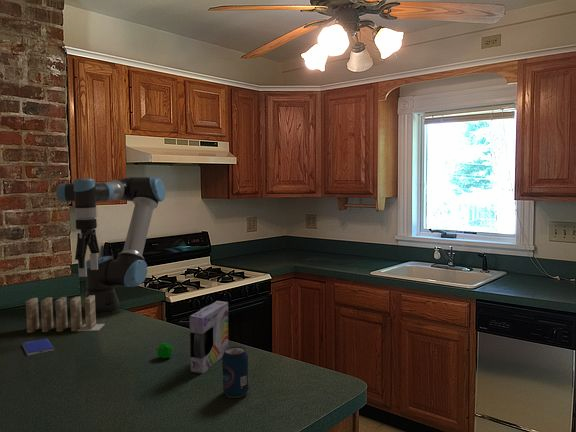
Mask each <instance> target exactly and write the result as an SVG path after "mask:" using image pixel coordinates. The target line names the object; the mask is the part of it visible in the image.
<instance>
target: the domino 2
mask: <svg viewBox="0 0 576 432" xmlns="http://www.w3.org/2000/svg"><path fill="white" fill-rule="evenodd" d="M39 302H40V318H41V332H42V333H46V332H47V333H48V332H49V331H50V330H52V329H53V328H54V310H53V309H54V308H53V306H54V305H53V297H52V296H51V297H50V296H49V297H46V298H43V299H42V300H40V301H39Z"/></svg>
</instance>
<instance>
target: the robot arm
mask: <svg viewBox="0 0 576 432" xmlns="http://www.w3.org/2000/svg"><path fill="white" fill-rule="evenodd" d="M55 195H56V198H57V200H58V201H60V202H63V203H64V202H65V203H74V210H73V213H74V215H75V218H76V219H75V229H76V230H80V232H77V235H76V236H77V240H76V246H75V247H76V248H75V256H74V260H75V261H77V266H78V267H77V268H78V269H77V270H78V271H77V272H78V277H79V278H82V277H84V278H85V282H86V283H85V284H86V294H85V298H87V297H88V296H89V295H95V310H96V313H104V312H110V311H113V310H116V309H118V308H119V307H120V302H119V299H118V296H117V293H116V290H115V287H127V288H131V287H139V286H140V285H142V284H143V283H144V282H145V280H146V277H147V275H148V264H147V262H146V261H145V258H144V256H143V254H144V249H145V246H146V241H147V237H148V232H149V229H150V224H151V220H152V216H153V211H154V210H155V209H157V208H158V207H159V206H158V204H159V203H160V202H162V201H164V200H165V197H166V188H165V184H164V182H163V180H162V179H161V178H160V177H157V176H140V177H138V176H137V177H136V176H135V177H134V176H133V177H130V176H129V177H125V178H118V179H111V180H110V181H104V182H103V181H102V182H100V181H99V182H98V181H97V182H95V179H93V178H75V179H74V180H73V183H72V182H71V183H68V182H67V183H66V182H65V183H59V184H58V185H57V187H56V189H55ZM110 200H113V201H127V202H132V203H133V204H134V208H133V211H132V215H131V218H130V223H129V227H128V230H127V235H126V238H125V240H124V241H125V242H124V246H123V249H122V251H121V252H119V253H118V254H117V258H116V259H114V256H113V255H106V256H98V254H99V253H100V248H99V242H98V238H97V234H96V229H97V228H98V227H97V226H98V223H97V219H96V218H97V207H96V206H97V205H96V203H101V202H108V201H110ZM88 249H89V251H90V253H89V259H86V253H87V250H88ZM85 298H84V299H85ZM82 307H83V311H84V312H85V300H84V302H83V305H82Z"/></svg>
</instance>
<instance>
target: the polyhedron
mask: <svg viewBox="0 0 576 432" xmlns="http://www.w3.org/2000/svg"><path fill="white" fill-rule="evenodd" d="M173 351H174V348H173V346H172V345H171V344H169V343H167V342H162V343H161V344H160V345H159V346H158V347H157V349H156V354H157V356H158V357H159V358H161V359H163V360H165V359H168V358H170V357H171V356H172V355H173Z"/></svg>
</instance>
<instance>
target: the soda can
mask: <svg viewBox="0 0 576 432" xmlns="http://www.w3.org/2000/svg"><path fill="white" fill-rule="evenodd" d="M221 360H222V361H221V363H222V368H221V369H222V391H223V393H224V394H225V395H226V397H228V398H232V399H233V398H234V399H236V398H241V397H244V396H246V395H247V393H248V391H249V389H250V387H249V384H250V383H249V381H250V380H249V379H250V378H249V355H248V353H247V349H246V348H245V347H242V346H230V347H229V346H228V348H227V349H225V350H224V354H223V356H222V358H221Z"/></svg>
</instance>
